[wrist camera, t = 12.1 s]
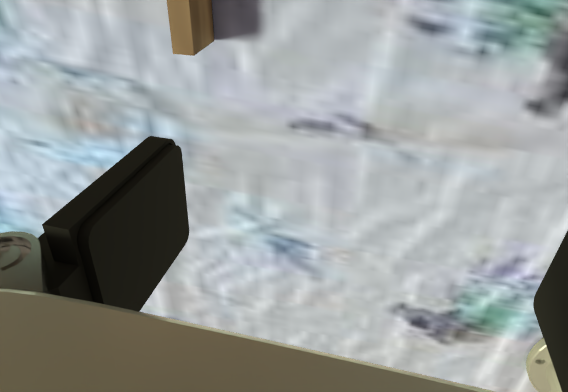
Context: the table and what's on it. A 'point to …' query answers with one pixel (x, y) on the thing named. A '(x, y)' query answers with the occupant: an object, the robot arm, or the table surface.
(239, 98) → the table surface
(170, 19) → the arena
